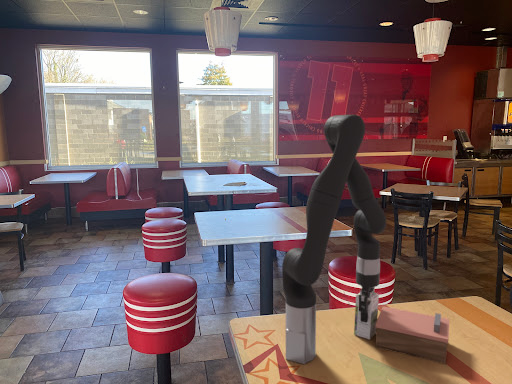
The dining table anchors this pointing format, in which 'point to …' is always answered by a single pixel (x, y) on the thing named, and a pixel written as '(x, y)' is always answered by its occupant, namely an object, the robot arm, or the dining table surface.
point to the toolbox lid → (414, 324)
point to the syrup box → (368, 328)
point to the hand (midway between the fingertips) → (366, 317)
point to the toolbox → (411, 345)
